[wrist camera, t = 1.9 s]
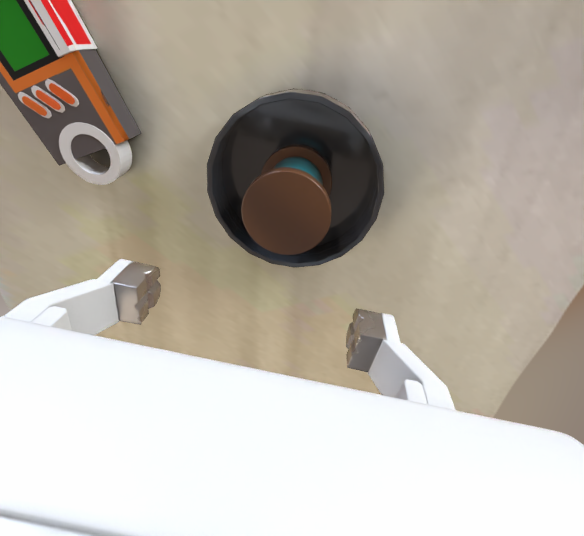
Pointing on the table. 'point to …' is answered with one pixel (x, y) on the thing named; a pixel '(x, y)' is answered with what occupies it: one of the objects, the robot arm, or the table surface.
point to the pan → (304, 131)
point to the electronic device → (64, 87)
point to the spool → (289, 201)
